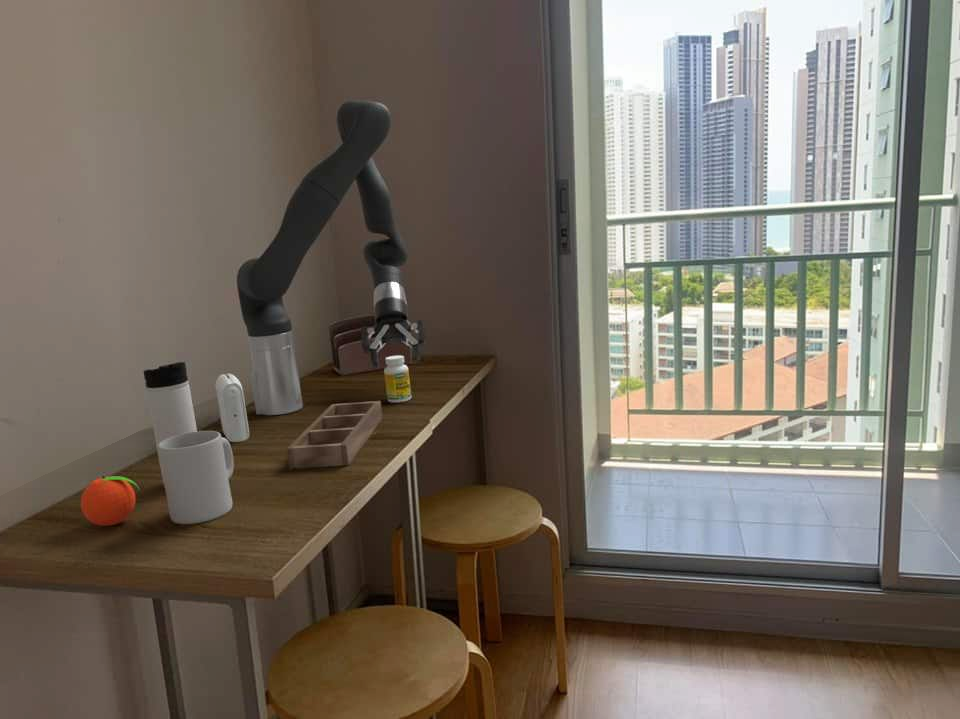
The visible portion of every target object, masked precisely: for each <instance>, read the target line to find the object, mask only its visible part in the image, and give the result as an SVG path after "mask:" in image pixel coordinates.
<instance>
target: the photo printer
mask: <svg viewBox="0 0 960 719" xmlns="http://www.w3.org/2000/svg"><path fill="white" fill-rule="evenodd" d="M215 390H216V391H215V392H216V397H217V403H218V410H219V415H220V422H221V428H222V429H221V430H222V431H223V435H224V436H225V438H226V439H227V440H228V442H231V443H240V442H244V441H247V440H248V439H249V438H250V429H249V428H250V427H249V422H248V421H249V420H248V415H247V409H246V403H245V396H244V390H243V386H242V384H241V382H240V380H239V379H238V377H236V376H235V375H234V374H232V373H229V372H228V373H225V374H223V373H222V374H221V375H219V376H218V377H217V378H216V381H215Z"/></svg>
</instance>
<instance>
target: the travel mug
mask: <svg viewBox="0 0 960 719" xmlns="http://www.w3.org/2000/svg"><path fill="white" fill-rule="evenodd" d="M143 377H144V380H145V390H146V395H147V401H148V408H149V412H150V417H151V423H152V428H153V434H154V441H155V444H156V445H155V446H156V452H157V457H158V462H159V466H160V467H159V468H160V472H161V477H162V483H163V484H162V485H163V488H165V484H164V479H163V473H162V468H161V462H160V457H159V451H158V445H159V443H160V442H162V441H164V440H166V439H168V438H170V437H173V436H177V435H180V434H185V433H190V432H197V431H198V429H197V428H198V427H197V424H196V423H197V422H196V417H195V411H194V406H193V400H192V394H191V388H190V384H189V382H190V381H189V378H188V375H187V366H186V362H185V361H183V362H181V361H178V362H174V363H170V364H166V365H165V364H164V365H162V366H161V365H160V366H158V368H153V369H149V368H147V369H145V370H143Z"/></svg>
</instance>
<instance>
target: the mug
mask: <svg viewBox="0 0 960 719" xmlns="http://www.w3.org/2000/svg"><path fill="white" fill-rule="evenodd" d="M158 451H159V457H160V462H161V468H162V473H163V477H162V480H163V479H164V484H165V487H164V488H165V490H164V491H165V495H166V499H167V506H168V514H169V518H170V521H172V522H173V523H175V524H178V525H179V524H180V525H196V524H203V523H206V522H209V521H210V522H211V521H213V520H215V519H218V518H221V517H222V516H224V515H226V514H228V513H229V512H230V511H232V509H233V508H232V507H233V499H232V493H231V492H232V491H231V487H230V482H229V479H230V478H231V477H232V475H233V472H234V465H235V464H234V460H235V459H234V455H233V450H232V447H231V443H230V441H229V440H228V439H227V437H222V434H221V433H220V432H218V431H215V430H199V431H198V430H197V432H190V433H185V434H180V435H177V436H173V437H170V438H168V439H166V440H164V441H162V442H160V443H159V445H158ZM158 451H157V452H158ZM159 457H158V458H159ZM160 462H159V463H160ZM161 468H160V469H161ZM162 473H161V474H162ZM164 484H163V485H164Z"/></svg>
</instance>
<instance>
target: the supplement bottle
mask: <svg viewBox="0 0 960 719" xmlns="http://www.w3.org/2000/svg"><path fill="white" fill-rule="evenodd" d="M403 363H404V356H390V357H387V358H386V365H388V367H386V368H385V369H383V375H384V383H385V391H386V398H387V399H386V400H387V402H389V403H395V404H396V403H397V404H398V403H403V402H407V401H410V400H411V398H412V389H411V382H410V371H409V367H408V365H403Z"/></svg>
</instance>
